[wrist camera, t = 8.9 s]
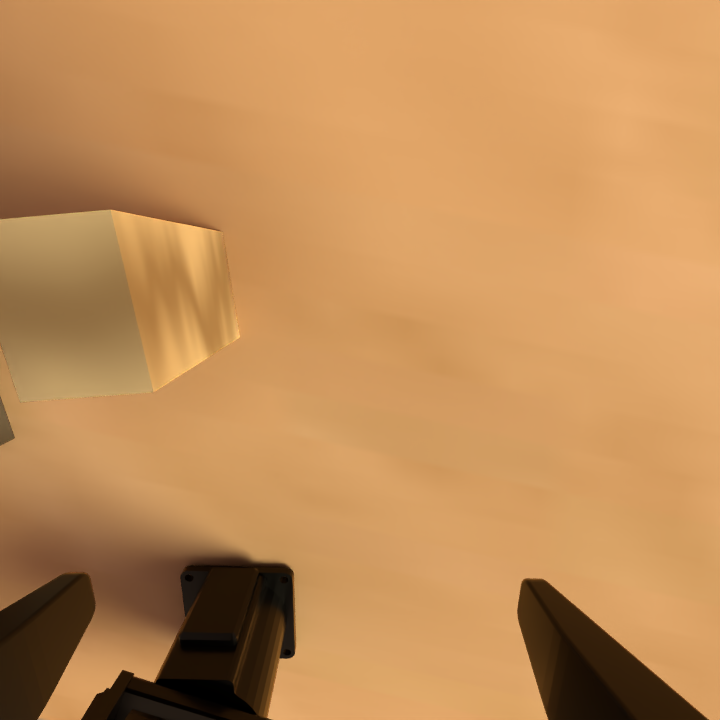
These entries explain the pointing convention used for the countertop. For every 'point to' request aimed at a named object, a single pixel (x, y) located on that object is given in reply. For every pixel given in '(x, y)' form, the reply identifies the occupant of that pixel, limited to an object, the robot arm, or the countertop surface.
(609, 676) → the robot arm
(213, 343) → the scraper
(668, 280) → the countertop surface
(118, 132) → the countertop surface
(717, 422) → the countertop surface
